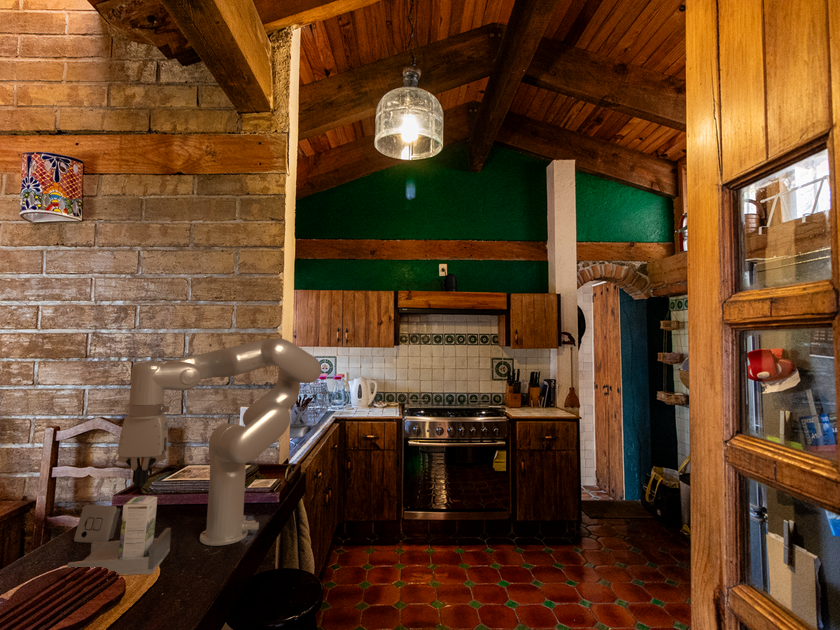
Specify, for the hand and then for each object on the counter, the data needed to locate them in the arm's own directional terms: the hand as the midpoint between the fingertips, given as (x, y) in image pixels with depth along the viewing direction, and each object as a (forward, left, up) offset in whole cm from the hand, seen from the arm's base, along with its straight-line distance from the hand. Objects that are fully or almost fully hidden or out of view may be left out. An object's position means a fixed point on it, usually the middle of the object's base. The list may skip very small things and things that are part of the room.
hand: (139, 485), depth 110 cm
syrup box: (-1, 0, -18) cm, 18 cm away
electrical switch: (+16, -17, -19) cm, 30 cm away
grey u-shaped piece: (+3, 0, -19) cm, 19 cm away
